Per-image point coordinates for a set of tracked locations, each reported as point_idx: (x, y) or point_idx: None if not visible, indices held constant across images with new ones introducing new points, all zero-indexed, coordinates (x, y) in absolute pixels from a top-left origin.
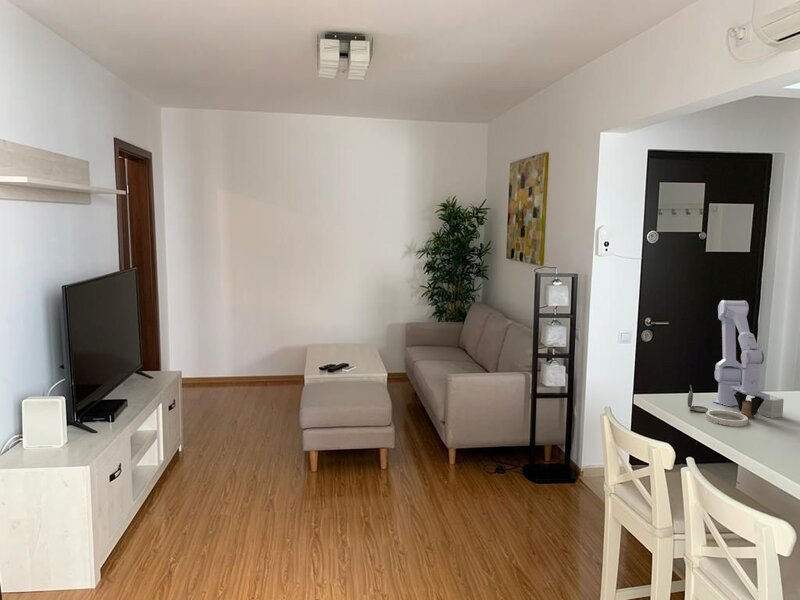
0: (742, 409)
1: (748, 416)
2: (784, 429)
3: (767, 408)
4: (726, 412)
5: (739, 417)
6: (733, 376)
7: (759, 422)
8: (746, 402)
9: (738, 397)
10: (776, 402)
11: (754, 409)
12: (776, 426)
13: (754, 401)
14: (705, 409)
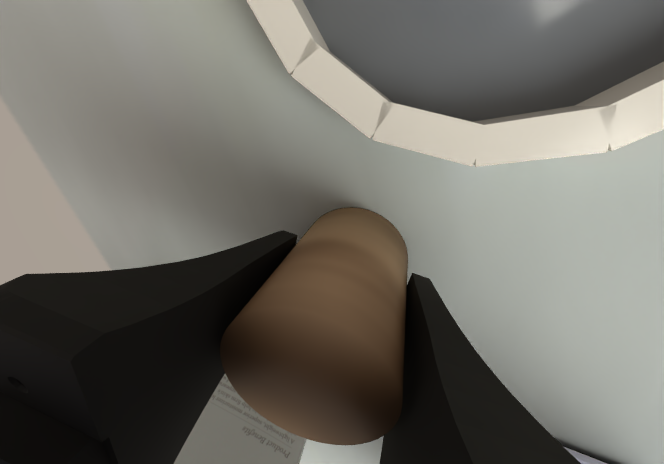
0: (386, 263)
1: (326, 216)
2: (47, 104)
3: (227, 392)
4: (589, 105)
5: (383, 94)
6: None
7: (222, 149)
8: (313, 336)
9: (490, 450)
10: None
11: (230, 249)
12: (110, 140)
13: (86, 289)
14: None
